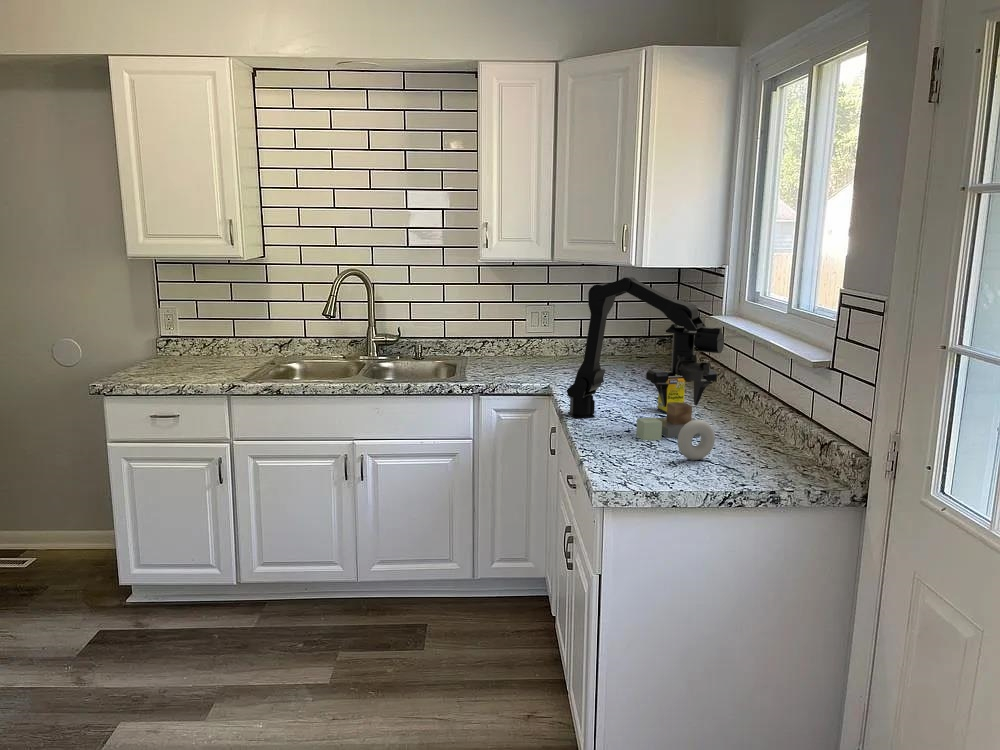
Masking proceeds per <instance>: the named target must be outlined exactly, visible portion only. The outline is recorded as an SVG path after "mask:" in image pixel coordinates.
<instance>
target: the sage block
mask: <svg viewBox="0 0 1000 750" xmlns="http://www.w3.org/2000/svg"><path fill="white" fill-rule="evenodd" d="M656 418H657V417H637V418H636V435H635V436H636V437H637V436H638V438H639V439H640V438H641V439H640V440H642V441H643V440H644V442H645V440H648V441H662V421H660V420H658V419H656Z"/></svg>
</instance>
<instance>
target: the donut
mask: <svg viewBox="0 0 1000 750" xmlns="http://www.w3.org/2000/svg"><path fill="white" fill-rule="evenodd" d="M697 433H699V434H700V435H701V436H700V440H699V443H698V444H697V445H695V446H694V445H693V443H692V441H693V438H694V437H695V436H694V435H695V434H697ZM715 441H716V434H715V431H714V429H713V427H712V425H711V424H710V423H709V422H707V421H706V420H702V419H695V420H693V421H690V422H688V423H687V424H685V425H684V426H683V427H682V429H681V430H680V433H679V435H678V437H677V447H678V449H679V452H680V454H681V455H682V456H683V457H685V458H687V460H689V461H691V460H693V461H698V460H702V459H704V458H706V457H707V456H708V455H709V454H710V453H711V452H712V451H713V449H714V446H715Z"/></svg>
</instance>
